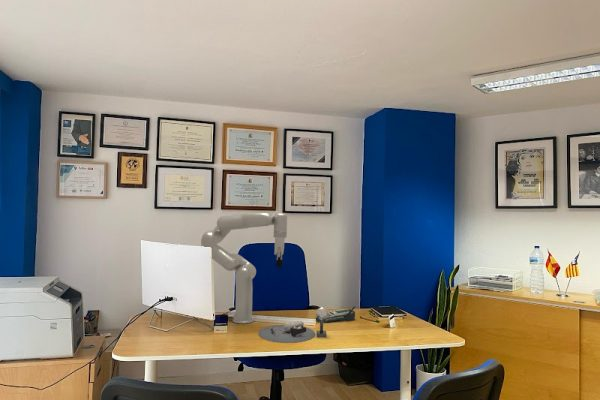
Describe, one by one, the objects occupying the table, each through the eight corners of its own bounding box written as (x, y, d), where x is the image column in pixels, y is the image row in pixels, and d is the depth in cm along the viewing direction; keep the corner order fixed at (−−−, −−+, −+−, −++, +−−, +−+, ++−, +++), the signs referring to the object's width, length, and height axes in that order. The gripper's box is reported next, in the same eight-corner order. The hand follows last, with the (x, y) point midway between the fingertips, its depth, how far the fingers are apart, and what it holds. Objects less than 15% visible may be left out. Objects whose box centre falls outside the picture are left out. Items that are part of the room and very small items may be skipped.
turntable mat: (255, 342, 197) (255, 341, 197) (261, 324, 227) (261, 323, 227) (316, 343, 197) (316, 343, 197) (314, 325, 227) (314, 325, 227)
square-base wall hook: (315, 337, 207) (316, 308, 207) (315, 334, 212) (316, 305, 212) (327, 337, 207) (328, 308, 207) (326, 334, 212) (327, 305, 212)
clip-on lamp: (273, 343, 204) (307, 334, 206) (270, 331, 204) (305, 323, 206) (271, 333, 216) (304, 325, 218) (269, 322, 215) (301, 314, 217)
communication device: (311, 319, 242) (311, 304, 242) (347, 316, 250) (347, 301, 251) (319, 325, 231) (320, 309, 231) (356, 321, 239) (356, 306, 239)
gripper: (274, 233, 240) (273, 264, 239) (272, 235, 225) (271, 268, 224) (287, 234, 240) (286, 265, 239) (286, 235, 225) (285, 268, 224)
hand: (279, 266), depth 232 cm, fingers closed
